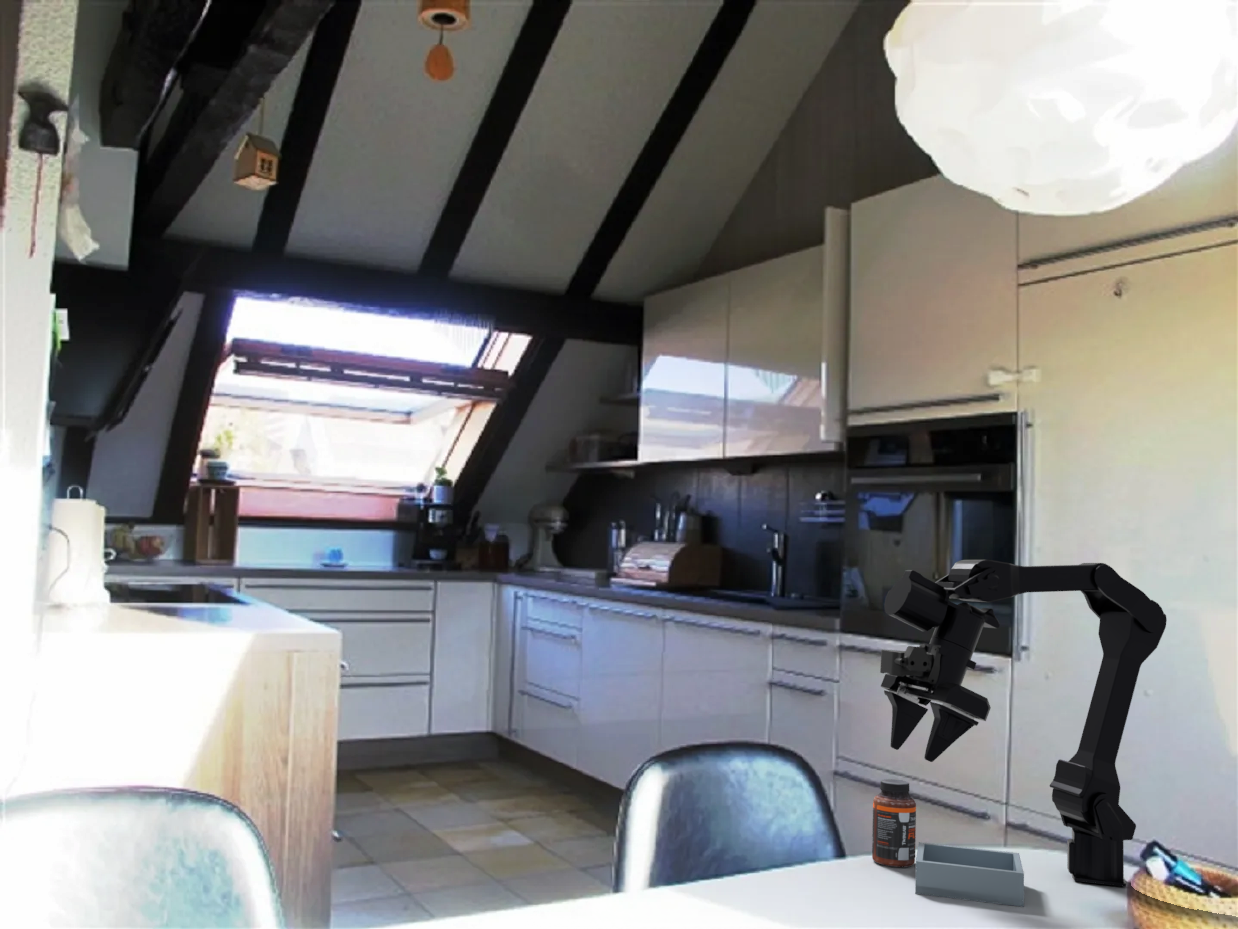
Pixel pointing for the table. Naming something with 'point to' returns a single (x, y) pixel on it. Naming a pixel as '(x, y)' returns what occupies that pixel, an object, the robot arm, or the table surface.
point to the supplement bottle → (894, 825)
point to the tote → (969, 874)
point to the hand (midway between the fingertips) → (910, 754)
